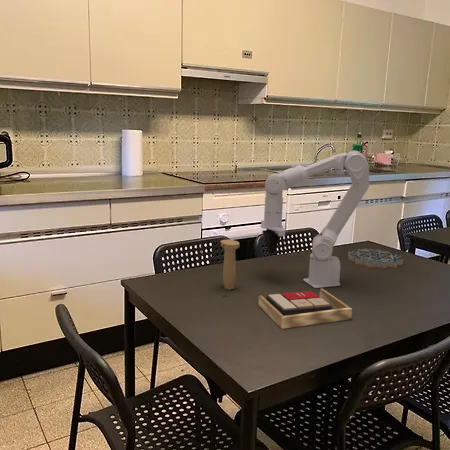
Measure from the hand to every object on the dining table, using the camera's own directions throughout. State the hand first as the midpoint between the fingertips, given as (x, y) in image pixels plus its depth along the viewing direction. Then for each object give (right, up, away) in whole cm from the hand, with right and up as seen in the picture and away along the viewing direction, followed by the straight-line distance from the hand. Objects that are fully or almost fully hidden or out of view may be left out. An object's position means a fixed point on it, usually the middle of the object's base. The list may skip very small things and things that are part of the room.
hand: (271, 252), depth 150 cm
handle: (-14, -11, -7) cm, 19 cm away
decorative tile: (+42, -5, +26) cm, 50 cm away
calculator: (+5, -16, -22) cm, 27 cm away
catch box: (+6, -15, -22) cm, 28 cm away
